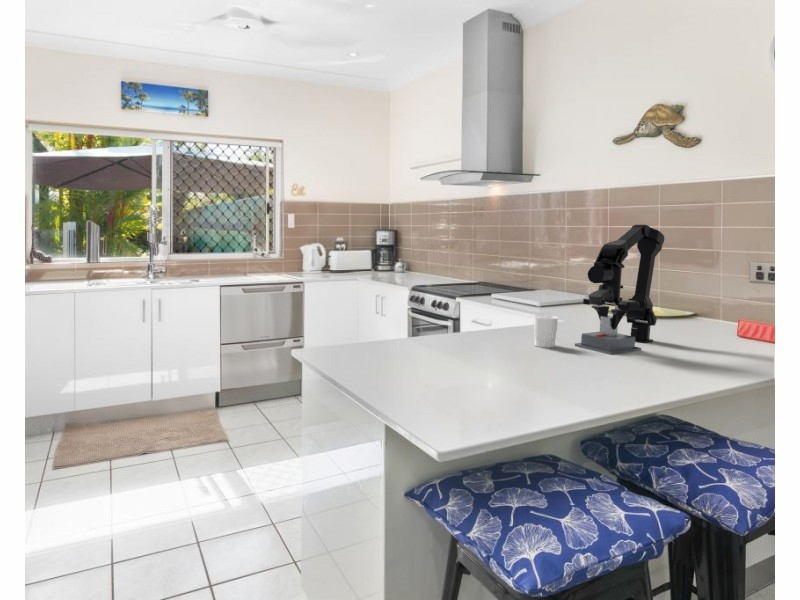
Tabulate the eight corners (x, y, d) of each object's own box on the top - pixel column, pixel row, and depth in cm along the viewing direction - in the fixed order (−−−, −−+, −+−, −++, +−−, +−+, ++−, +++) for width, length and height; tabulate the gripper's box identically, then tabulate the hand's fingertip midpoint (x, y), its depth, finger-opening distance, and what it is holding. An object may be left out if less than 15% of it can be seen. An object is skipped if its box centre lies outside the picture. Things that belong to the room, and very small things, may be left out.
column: (607, 338, 193) (608, 315, 192) (617, 340, 189) (618, 317, 188) (598, 339, 191) (600, 316, 190) (608, 341, 187) (610, 317, 186)
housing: (604, 342, 201) (605, 328, 200) (641, 350, 188) (642, 335, 187) (574, 345, 193) (575, 331, 193) (610, 354, 180) (611, 339, 180)
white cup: (557, 348, 188) (558, 319, 186) (532, 347, 189) (534, 318, 188) (555, 344, 195) (557, 315, 194) (532, 343, 197) (533, 314, 196)
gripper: (572, 280, 192) (570, 325, 194) (618, 285, 176) (615, 335, 178) (595, 279, 197) (593, 323, 199) (642, 284, 181) (638, 332, 183)
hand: (608, 328), depth 190 cm, fingers closed on column, 4 cm apart
